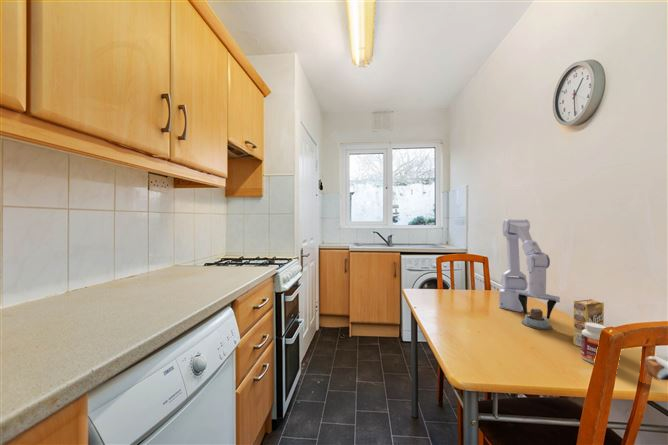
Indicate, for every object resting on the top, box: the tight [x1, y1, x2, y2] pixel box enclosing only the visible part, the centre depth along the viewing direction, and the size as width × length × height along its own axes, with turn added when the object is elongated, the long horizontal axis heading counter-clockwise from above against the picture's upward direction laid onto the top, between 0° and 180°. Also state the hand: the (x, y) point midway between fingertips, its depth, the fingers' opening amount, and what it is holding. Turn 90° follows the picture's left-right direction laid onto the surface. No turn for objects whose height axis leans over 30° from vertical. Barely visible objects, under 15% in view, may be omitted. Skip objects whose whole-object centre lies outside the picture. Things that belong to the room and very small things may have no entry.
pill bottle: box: [580, 322, 607, 364], centre depth 83 cm, size 6×6×11 cm
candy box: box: [573, 298, 605, 348], centre depth 94 cm, size 9×4×15 cm, turn 107°
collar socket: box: [521, 314, 553, 331], centre depth 111 cm, size 10×10×3 cm
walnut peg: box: [529, 307, 544, 321], centre depth 112 cm, size 4×4×6 cm
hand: (536, 315), depth 111 cm, fingers open, 7 cm apart
